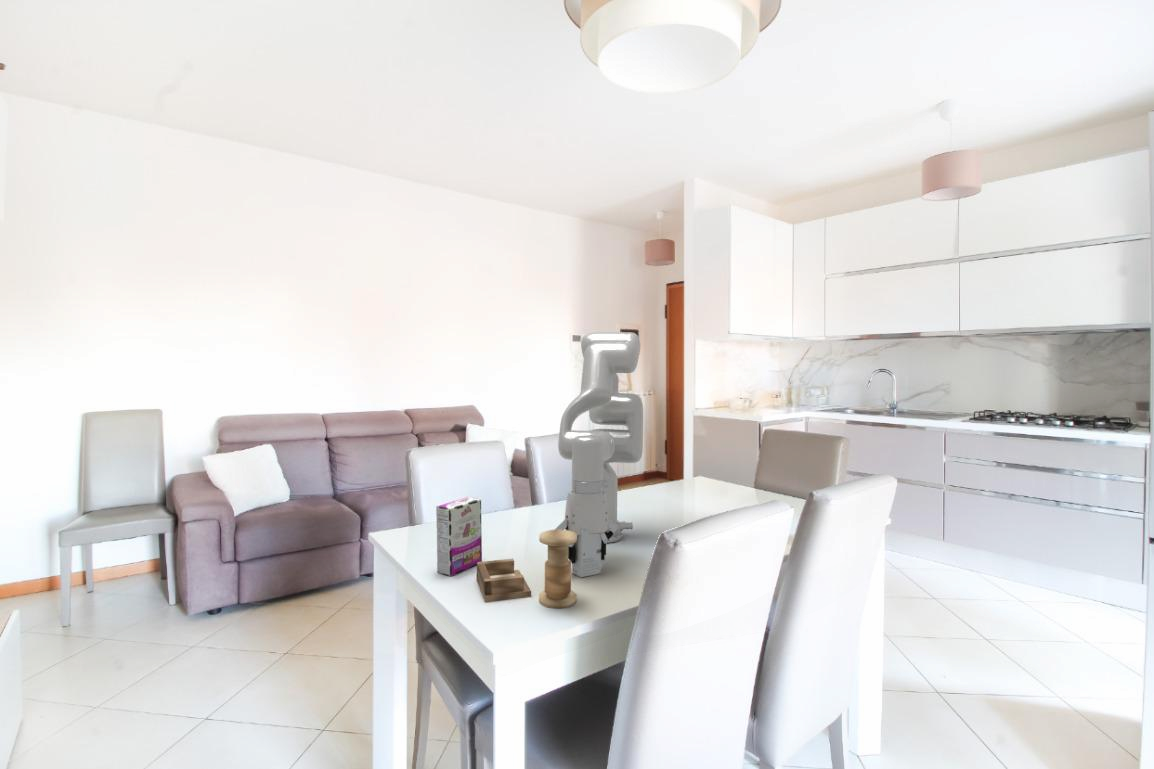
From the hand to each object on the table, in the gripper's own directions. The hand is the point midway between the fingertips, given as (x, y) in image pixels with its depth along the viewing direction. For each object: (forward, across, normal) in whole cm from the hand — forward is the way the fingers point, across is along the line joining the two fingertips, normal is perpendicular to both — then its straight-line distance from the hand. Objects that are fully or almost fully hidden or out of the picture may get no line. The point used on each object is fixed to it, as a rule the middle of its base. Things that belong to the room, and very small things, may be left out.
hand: (586, 559), depth 133 cm
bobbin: (+3, +11, +13) cm, 17 cm away
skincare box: (+4, 0, 0) cm, 4 cm away
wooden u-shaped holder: (+3, +21, +3) cm, 21 cm away
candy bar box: (+4, +29, -12) cm, 32 cm away
